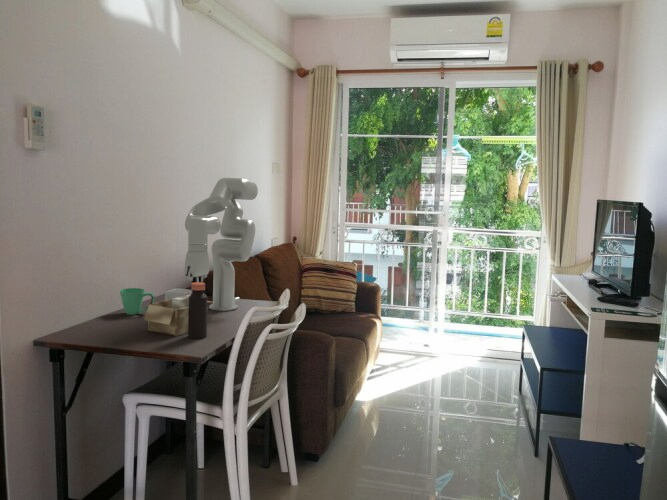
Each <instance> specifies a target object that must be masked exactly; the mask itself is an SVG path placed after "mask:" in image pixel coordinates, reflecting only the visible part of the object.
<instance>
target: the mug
mask: <svg viewBox="0 0 667 500" xmlns="http://www.w3.org/2000/svg"><path fill="white" fill-rule="evenodd" d="M145 291H146V290H145V289H143V288H140V287H139V288H137V287H131V288H130V287H128V288H123V289H122V288H121V289H120V290H119V294H120V297H121V298H120V299H121V302H122V306H123V308H124V312H125V314H126V315H130V316H131V315H134V316H135V315H138V314H139V313H142V312H145V311H147V309H148V305H147V306H146V307H144V308H142V305H143V300H144V297H146V296H149V297H150V298H151V302H150V303H149V304H153V303H155V299H156V298H155V297H156V296H155V294H154V293H153V292H152V291H151V292H150V291H149V292H145Z"/></svg>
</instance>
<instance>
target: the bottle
mask: <svg viewBox="0 0 667 500" xmlns="http://www.w3.org/2000/svg"><path fill="white" fill-rule="evenodd" d="M190 290H192V294H191V295H190V296H189V310H188V333H187V334H188V335H187V336H188V337H189V338H190V339H194V340H195V339H205V338H206V337H208V335H207V334H208V303H207V301H208V296H207V294H206V293H205V291H206V283H205V282H203V283H202V282H195V283H192V282H191V288H190Z"/></svg>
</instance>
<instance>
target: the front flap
mask: <svg viewBox="0 0 667 500" xmlns="http://www.w3.org/2000/svg"><path fill="white" fill-rule="evenodd" d="M148 305H149V306H148ZM148 305H147V306H148V309H147V310H146V312H145V315H144V318H143V320H144V321H147V322H148V321H152V322H157V323H162V324H167V325H170V322H171V319H172V316H173V313H174V310H175V309H172V308H166V307H161V306H155V305H150V303H149V304H148Z"/></svg>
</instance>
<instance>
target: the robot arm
mask: <svg viewBox="0 0 667 500" xmlns="http://www.w3.org/2000/svg"><path fill="white" fill-rule="evenodd" d="M258 191H259V189H258V185H257V183H256V182H255V181H252V180H250V179H246V178H242V177H241V178H240V177H221V178H220V179H218V181H216V183H215V185H214V188H213V189H212V191H211V193H210V194H209V196H208V197H207V198H205V199H203V200H201V201H200V202H198V203H196V204H195V205H194V206H193V207H192V208H191V209H190V210H189V213H188V214H187V216H186V217H185V221H184V228H185V230H186V231H187V232H188V233H187V234H188V235H187V238H188V239H187V242H188V243H187V252H186V254H185V259H184V260H185V261H184V276H185V277H187V278H186V280H187V281H191V283H195V282H202V283H204V279H206V278H208V274H209V273H210V260H209V259H210V258H209V252H208V235H215V234H217V233H220V236H221V237H222V238H220V239H216V240H215V241H214V242H213V243H212V244H211V253H212V261H213V262H212V263H213V275H212V276H213V279H212V280H213V281H212V282H213V283H212V286H213V287H212V288H213V290H212V302H213V303H210V305H208V306H209V307H208V308H209V309H210V310H213V311H217V312H218V311H219V312H221V311H223V312H227V311H228V312H229V311H234V310H237V309H238V306H239V305H237V304H236V303H237V302H240V297H239V296H237V297H235V289H236V288H235V287H236V286H235V284H236V282H235V281H236V279H235V278H236V270H235V267H234V265H233V263H232V262H247V261H248V260H249V259H250V257H251V254H252V253H251V252H252V250H253V244H254V241H255V240H254V239H255V236H256V225H255V222H254V221H253V220H251V219H248V218H243V216H244V210H243V208H242V206H241V204H240V203H239V202H238V200H242V201H243V200H244V201H245V200H246V201H249V200H250V201H253V200H255V199H256V197H257V196H258V193H259V192H258ZM223 211H224V212H223ZM220 212H223V216H222V220H221V221H220V218H218V217H216V216H212V215H214V214H218V213H220Z"/></svg>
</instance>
